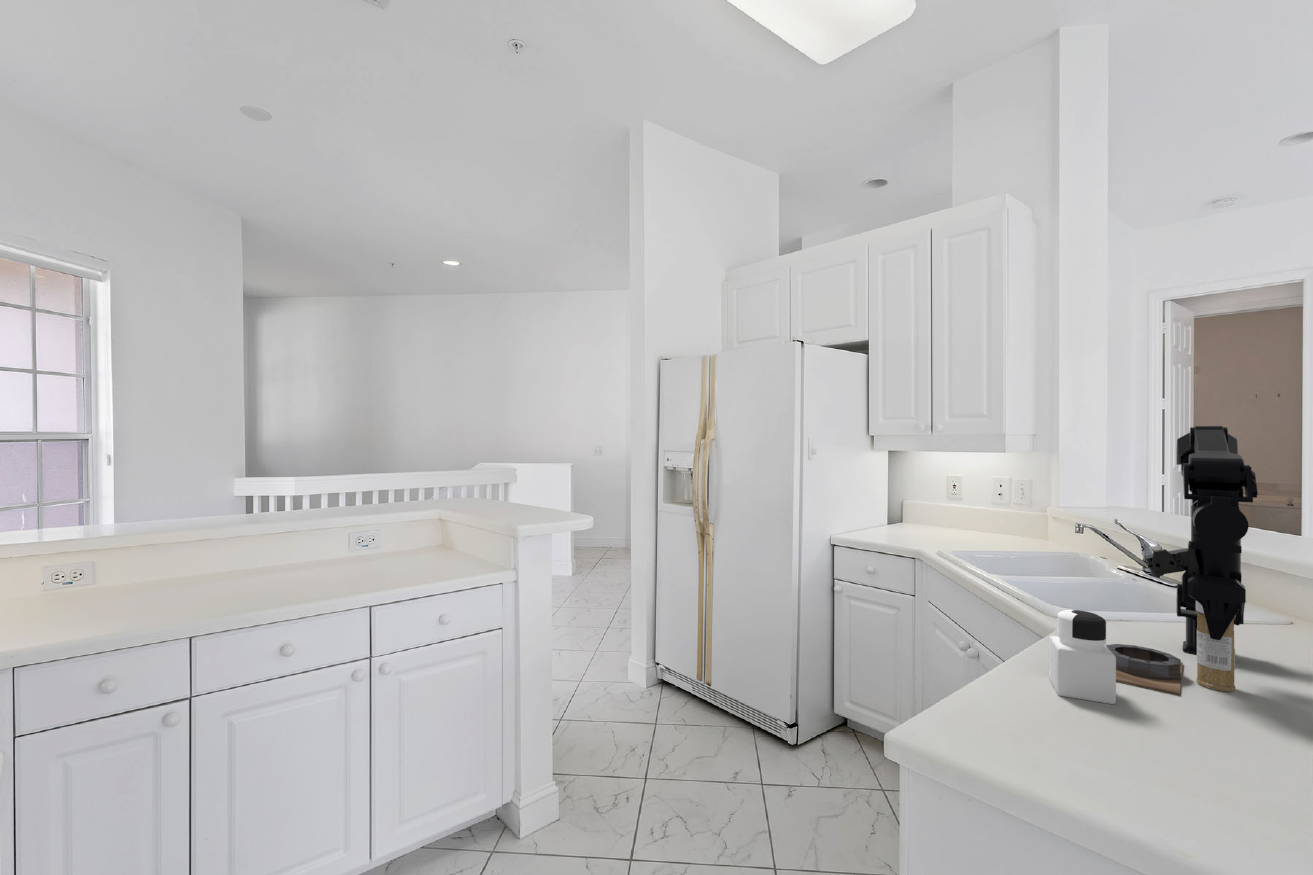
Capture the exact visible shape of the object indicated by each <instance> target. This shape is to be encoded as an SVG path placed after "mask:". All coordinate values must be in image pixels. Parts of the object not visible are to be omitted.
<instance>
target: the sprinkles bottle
mask: <svg viewBox="0 0 1313 875" xmlns="http://www.w3.org/2000/svg"><path fill="white" fill-rule="evenodd" d="M1196 611H1197V612H1196V613H1197V654H1196V666H1197V667H1196V668H1197V669H1196V670H1197V671H1196V672H1197V673H1196V674H1197V678H1196V682H1197V684H1199V685H1201V686H1203V687H1205V688H1208V689H1211V690H1215V691H1220V692H1234V691H1236V688H1237V687H1236V685H1235V669H1236V649H1235V624H1234V618H1235V617H1234V618H1233V620H1232V622H1231V623H1230V625H1229V627H1228V628H1227V630H1226V632H1225V633H1224V635H1223V637H1222V638H1221V640H1214V639H1211V638H1210V634H1209V630H1208V626H1207V622H1206V618H1205V615H1204V611H1203V607H1202V605H1201V604H1200V603H1199V602H1197V601H1196ZM1235 616H1236V615H1235Z"/></svg>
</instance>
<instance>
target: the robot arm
mask: <svg viewBox="0 0 1313 875" xmlns="http://www.w3.org/2000/svg"><path fill="white" fill-rule="evenodd" d="M1238 444H1239V443H1238V439H1237V438H1236V437H1235V436H1233V435H1231V434H1229V432H1228V427H1227V426H1223V425H1195V426H1191V427H1189V432H1188V433H1186V434H1184V435H1182V436H1180V437H1178V438H1177V439H1176V452H1175V454H1176V455H1175V456H1176V458H1175V459H1176V460H1175V461H1176V465H1179V466H1180V471H1181V472H1180V475H1181V476H1182V478H1183V479H1182V481H1183V482H1182V483H1183V499H1184V500H1191V506H1190V509H1191V510H1190V540H1188V543H1187V547H1186V548H1180V549H1174V550H1169V551H1168V550H1167V549H1165V548H1164V549H1161V550H1154V551H1153V552H1152V554H1151V553H1150V554H1147V555H1145V557H1144V560H1145V562H1146V565H1147V568H1149V571H1150V573H1151V576H1152V577H1154V578H1155V577H1163V576H1164V575H1167V574H1174V573H1175V574H1176V573H1181V572H1183V573H1182V575H1181V583H1176V597H1175V598H1176V600H1175V601H1176V606H1175V608H1176V616H1177V617H1178V618H1179V617H1180V618H1181V617H1183V618H1185V640H1184V641H1183V642H1182V651H1183V652H1186V653H1191V654H1196V655H1197V613H1196V612H1197V611H1196V601H1197V602H1199V603H1200V604H1201V605H1202V607H1203V611H1204V615H1205V618H1206V622H1207V626H1208V630H1209V634H1210V638H1211V639H1214V640H1221V638H1222V637H1223V635H1224V633H1225V632H1226V630H1227V628H1228V627H1229V625H1230V623H1231V622H1232V620H1233V618H1234V617H1235V618H1234V626H1240V625H1244V620H1245V618H1244V617H1245V615H1244V614H1245V606H1246V605H1245V604H1246V603H1247V601H1246V598H1247V591H1246V587H1245V585H1244V584H1243V583H1242V571H1241V570H1242V568H1241V567H1242V557H1241V556H1242V539H1243V538H1244V537H1245V536H1246V535H1247V533H1248V531H1249V521H1248V519H1247V517H1246V515H1245V514H1244V513H1243V512H1242V508H1240V506H1239V503H1249V504H1250V503H1251V504H1252V503H1254V498H1255V499H1257V498H1258V493H1259V492H1258V486H1257V484H1258V483H1257V479H1256V478H1257V477H1256V472H1255V471H1253V470H1252V466H1251V464H1245V460H1244V458H1243V456H1242V455H1240V454H1239V448H1238V446H1239V445H1238ZM1244 493H1245V494H1244ZM1235 615H1236V616H1235Z"/></svg>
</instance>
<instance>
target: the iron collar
mask: <svg viewBox="0 0 1313 875" xmlns="http://www.w3.org/2000/svg"><path fill="white" fill-rule="evenodd" d="M1105 645H1106V647H1107V648H1108V649H1109V650H1110V651H1111V652H1112V653H1113V654H1114V655H1115V656H1116V670H1118V671H1121V672H1124V673H1127V674H1130V675H1135V676H1139V677H1144V678H1148V679H1158V680H1175V679H1180V675H1181V662H1182V661H1181V660H1182V659H1180V658H1178V657H1177V656H1174V655H1173V654H1171V653H1169V652H1165V651H1161V650H1158V649H1154V648H1150V647H1145V646H1139V645H1134V644H1123V643H1114V644H1113V643H1111V644H1105Z"/></svg>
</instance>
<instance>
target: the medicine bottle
mask: <svg viewBox="0 0 1313 875" xmlns="http://www.w3.org/2000/svg"><path fill="white" fill-rule="evenodd" d="M1056 622H1057V623H1056V624H1057V630H1056V633H1057V635H1050V636H1049V641H1048V642H1049V644H1048V645H1049V648H1048V649H1049V650H1048V651H1049V652H1048V654H1049V656H1048V658H1049V660H1048V661H1049V662H1048V669H1049V672H1048V673H1049V674H1048V676H1049V677H1048V678H1049V680H1050V682H1051V684H1052V686H1053V688H1054V690H1055V692H1056V694H1057V695H1058V696H1060V697H1064V698H1065V697H1067V698H1072V699H1079V700H1085V701H1089V702H1096V703H1097V702H1098V703H1102V704H1103V703H1104V704H1108V705H1109V704H1110V705H1115V704H1116V703H1117V697H1116V696H1117V695H1116V694H1117V682H1116V656H1115V655H1114V654H1113V653H1112V652H1111V651H1110V650H1109V649H1108V648H1107V647H1106V645H1107V621H1106V619H1105V618H1103V617H1102V616H1100V615H1099V614H1097V613H1095V612H1089V611H1086V610H1080V609H1079V610H1078V609H1065V610H1061V611H1059V612H1058V613H1057V621H1056Z"/></svg>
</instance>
